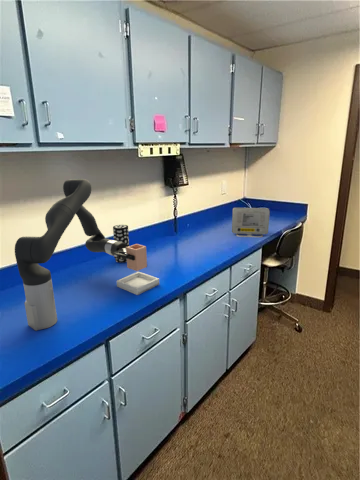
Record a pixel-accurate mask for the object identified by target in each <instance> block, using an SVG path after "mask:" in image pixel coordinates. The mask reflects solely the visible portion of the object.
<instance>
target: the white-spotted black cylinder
mask: <svg viewBox="0 0 360 480" xmlns="http://www.w3.org/2000/svg"><path fill="white" fill-rule="evenodd" d="M112 231H113V240H116V241H120V242H123V243H126V244H127V246H130V238H129V237H130V236H129V225H127V224H117V225H114V226H113V227H112ZM114 260H115V262H116V263H120V264H121V263H122V264H123V263H127V259H125V260H120V259H116V258H114Z"/></svg>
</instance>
